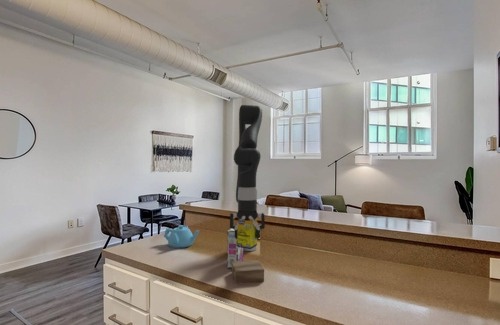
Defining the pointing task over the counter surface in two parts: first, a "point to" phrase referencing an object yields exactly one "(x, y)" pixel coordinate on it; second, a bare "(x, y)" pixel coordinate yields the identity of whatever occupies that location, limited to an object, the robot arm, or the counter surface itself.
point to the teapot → (180, 236)
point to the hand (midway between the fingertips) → (247, 239)
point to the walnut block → (247, 271)
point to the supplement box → (247, 234)
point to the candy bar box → (233, 249)
